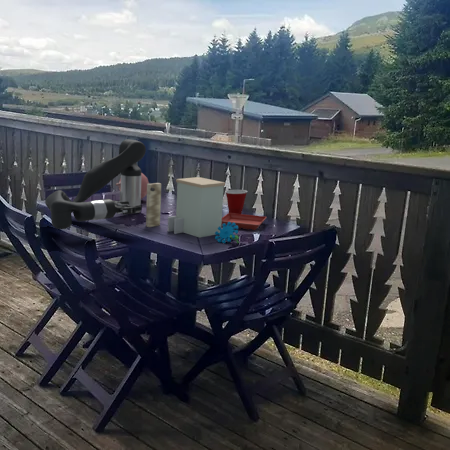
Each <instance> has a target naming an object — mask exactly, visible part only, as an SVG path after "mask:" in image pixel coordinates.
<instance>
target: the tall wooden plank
mask: <svg viewBox="0 0 450 450" xmlns="http://www.w3.org/2000/svg"><path fill="white" fill-rule="evenodd" d="M161 202H162V183H160V182H153V183H149V184H147V194H146V211H145V213H146V214H145V227H148V228H152V227H158V226H159V227H160V226H161V206H162V205H161Z"/></svg>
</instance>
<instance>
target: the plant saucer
mask: <svg viewBox="0 0 450 450" xmlns="http://www.w3.org/2000/svg"><path fill="white" fill-rule="evenodd" d="M266 219H267V216H266V215H265V216H262V215H255V214H254V215H252V214H243V213H242V214H236V213H229V212H228V213H226V214H225V215H224V216H222V222H221V227H223V225H222V224H223V223H225V224H226V226H227V224H228V222H231V224H232V223H233V222H234V223H235V224H236V225H237V226H238V229H241V228H243V229H244V230H249V229H252V231H256V230H257V229H258V228H259V227H260V226H261V225H262V224H263V223H264V222H265V220H266ZM236 225H235V226H236ZM226 226H225V227H226ZM229 226H230V225H229ZM232 227H234V226H232ZM243 229H242V230H243Z"/></svg>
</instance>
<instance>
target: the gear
mask: <svg viewBox="0 0 450 450" xmlns="http://www.w3.org/2000/svg"><path fill="white" fill-rule="evenodd" d="M222 225H223V226H222ZM222 225H221V227H218V230H220V233H218V231H216V232H215V234H216V235H214V236H215V237H214V239H215V240H216V241H217V242H218V243H222V244H223V243H224V244H226V243H231V242H232V241H231V240H233V241H234V242H236V244H238V243H239V244H240V241H239V235H238V234H239V228H238V226H237V225H236V224H235V223H234V222H233V223H232V224H231V222H228V224H227V226H226V224H225V223H223V224H222ZM229 225H230V226H229ZM235 225H236V226H235ZM225 226H226V227H225ZM232 226H234V227H232ZM234 233H235V234H236V235H235V234H234Z"/></svg>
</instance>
